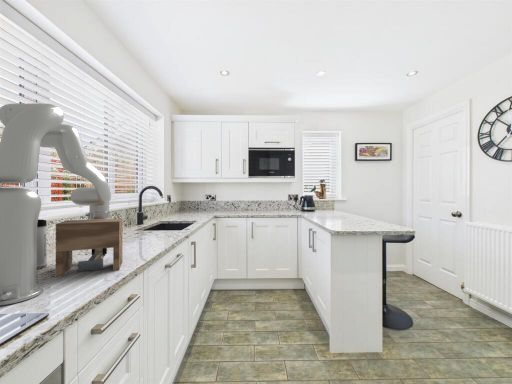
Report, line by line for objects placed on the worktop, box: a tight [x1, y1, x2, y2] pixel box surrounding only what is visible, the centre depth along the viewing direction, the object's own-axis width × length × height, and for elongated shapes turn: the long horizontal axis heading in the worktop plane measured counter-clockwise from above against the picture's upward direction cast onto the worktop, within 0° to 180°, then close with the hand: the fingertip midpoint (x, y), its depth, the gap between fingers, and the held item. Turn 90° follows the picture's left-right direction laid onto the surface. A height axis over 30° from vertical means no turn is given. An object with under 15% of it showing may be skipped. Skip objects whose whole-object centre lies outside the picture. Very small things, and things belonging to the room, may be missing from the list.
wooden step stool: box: [55, 218, 124, 278], centre depth 97 cm, size 13×20×19 cm, turn 113°
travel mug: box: [36, 218, 48, 271], centre depth 98 cm, size 6×7×20 cm
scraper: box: [77, 248, 105, 272], centre depth 103 cm, size 19×8×7 cm, turn 23°
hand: (99, 255), depth 110 cm, fingers closed on scraper, 3 cm apart
